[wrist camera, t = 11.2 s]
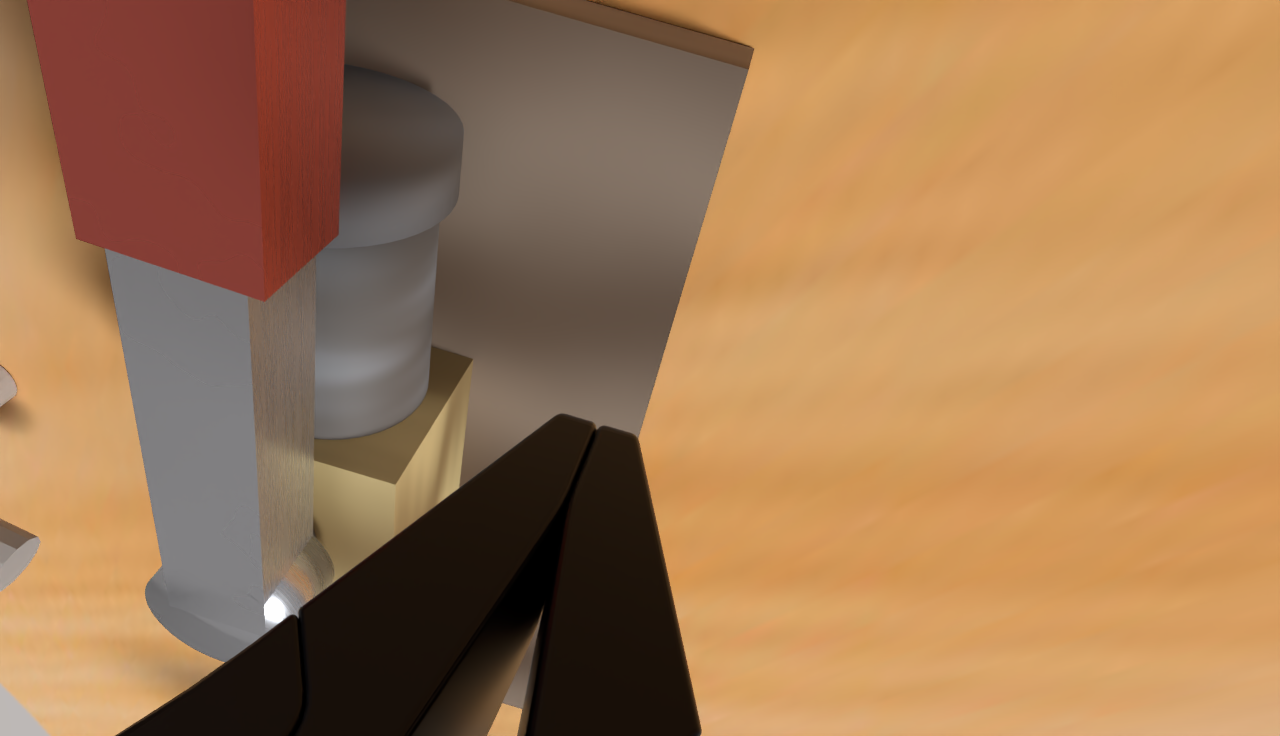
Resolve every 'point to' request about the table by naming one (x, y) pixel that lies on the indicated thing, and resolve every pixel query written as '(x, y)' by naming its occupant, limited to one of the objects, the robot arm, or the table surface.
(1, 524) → the pipe connector
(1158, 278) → the table surface
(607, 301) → the valve mount
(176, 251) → the lever
